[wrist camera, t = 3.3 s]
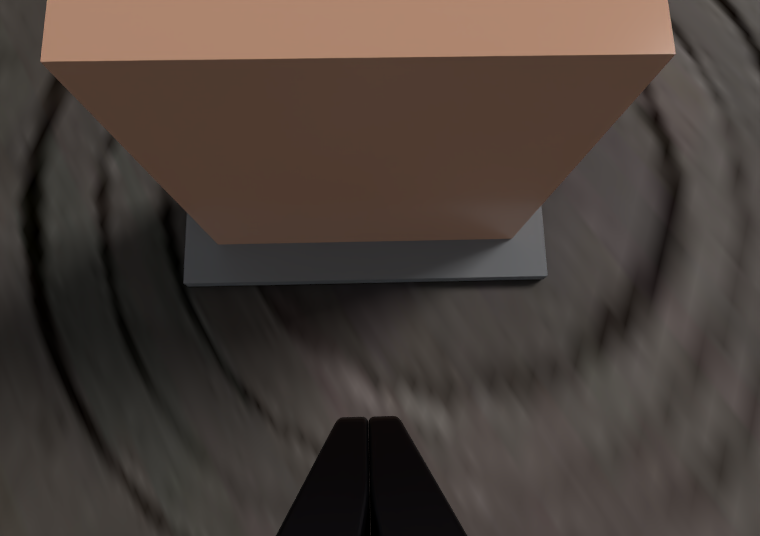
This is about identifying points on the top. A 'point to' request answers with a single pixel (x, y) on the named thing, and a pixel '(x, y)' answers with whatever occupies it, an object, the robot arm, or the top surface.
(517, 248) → the rubber mat
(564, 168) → the terracotta tile
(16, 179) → the top surface
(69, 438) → the top surface
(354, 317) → the top surface
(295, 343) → the top surface
